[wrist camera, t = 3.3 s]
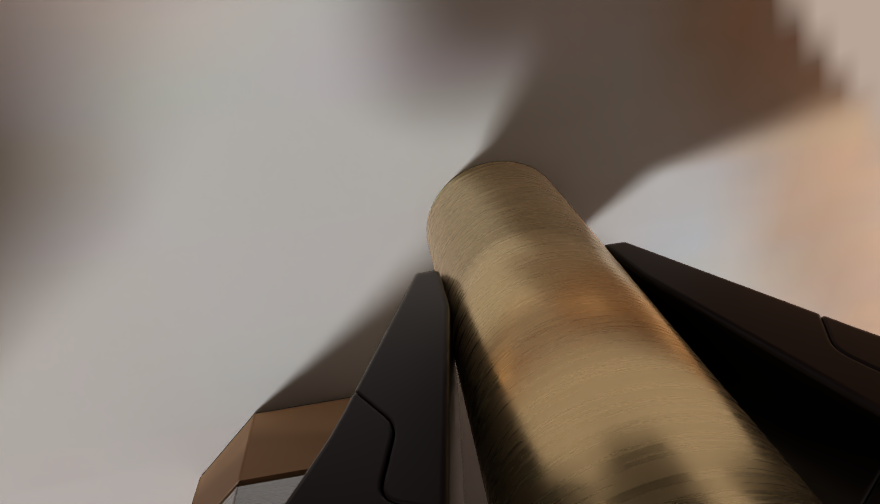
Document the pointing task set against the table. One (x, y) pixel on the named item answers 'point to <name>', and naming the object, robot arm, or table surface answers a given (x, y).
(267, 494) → the slate leaf
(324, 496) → the robot arm
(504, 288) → the brass pin
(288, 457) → the tan hinge leaf
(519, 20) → the table surface
